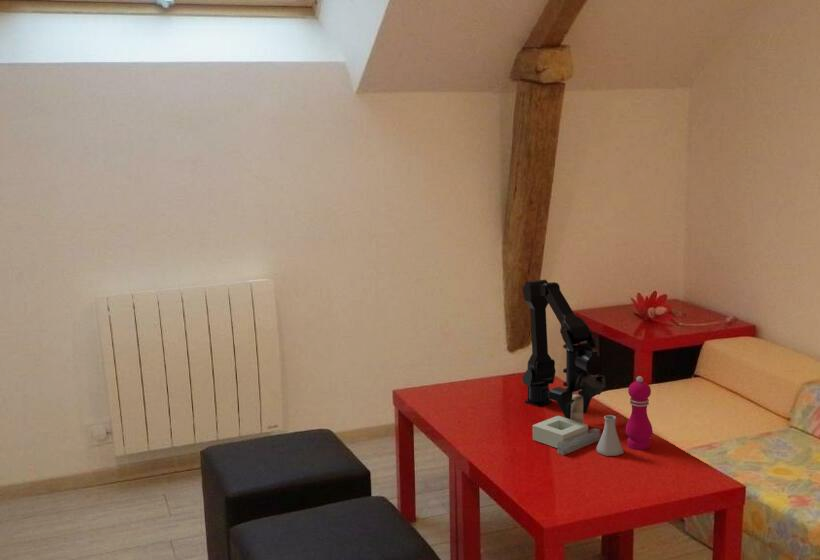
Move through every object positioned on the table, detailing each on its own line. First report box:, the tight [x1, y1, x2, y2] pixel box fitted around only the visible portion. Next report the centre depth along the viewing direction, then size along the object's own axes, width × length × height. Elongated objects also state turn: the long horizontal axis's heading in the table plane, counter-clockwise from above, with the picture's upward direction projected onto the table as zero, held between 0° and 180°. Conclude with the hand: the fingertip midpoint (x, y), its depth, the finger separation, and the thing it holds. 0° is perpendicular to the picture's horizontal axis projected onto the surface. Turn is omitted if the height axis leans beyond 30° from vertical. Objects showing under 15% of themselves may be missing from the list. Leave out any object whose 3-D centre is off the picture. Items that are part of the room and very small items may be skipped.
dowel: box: [570, 394, 584, 424], centre depth 262 cm, size 4×4×9 cm
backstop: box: [556, 427, 601, 456], centre depth 247 cm, size 2×16×3 cm, turn 130°
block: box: [532, 415, 589, 449], centre depth 251 cm, size 11×11×4 cm
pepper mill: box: [625, 375, 654, 451], centre depth 244 cm, size 7×7×20 cm
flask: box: [596, 414, 624, 457], centre depth 242 cm, size 7×7×10 cm
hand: (576, 416), depth 262 cm, fingers open, 7 cm apart
